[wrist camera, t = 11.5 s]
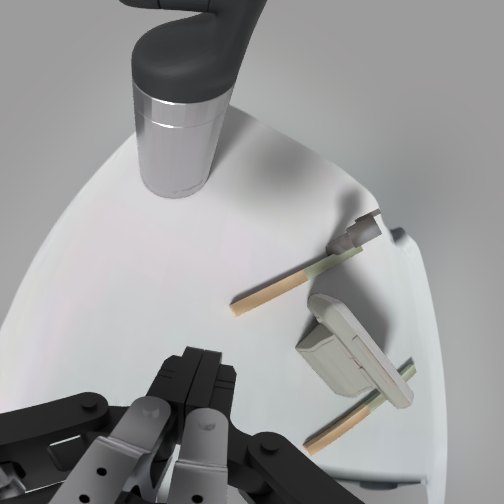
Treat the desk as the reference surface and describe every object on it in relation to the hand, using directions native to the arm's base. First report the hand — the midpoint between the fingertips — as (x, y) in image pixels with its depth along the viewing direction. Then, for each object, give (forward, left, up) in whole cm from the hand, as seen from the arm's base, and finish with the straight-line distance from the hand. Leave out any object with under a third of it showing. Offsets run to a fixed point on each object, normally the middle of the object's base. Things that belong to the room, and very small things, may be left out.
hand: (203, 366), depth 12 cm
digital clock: (+9, +17, -22) cm, 29 cm away
